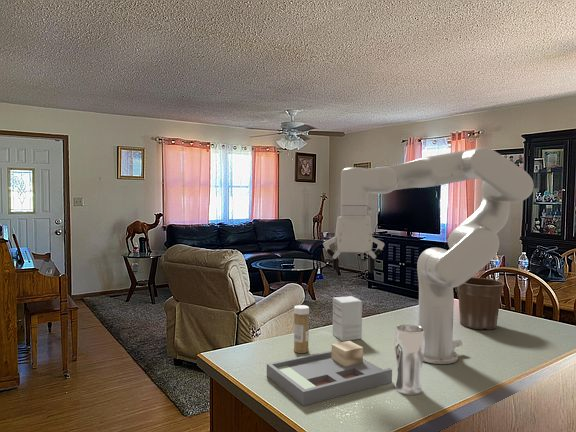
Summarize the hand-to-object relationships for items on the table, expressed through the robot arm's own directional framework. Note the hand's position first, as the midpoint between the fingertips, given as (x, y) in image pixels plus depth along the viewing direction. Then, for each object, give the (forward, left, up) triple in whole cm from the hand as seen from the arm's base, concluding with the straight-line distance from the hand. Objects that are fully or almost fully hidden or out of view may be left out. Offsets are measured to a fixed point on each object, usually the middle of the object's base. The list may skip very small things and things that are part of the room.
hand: (353, 272), depth 122 cm
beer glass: (0, +22, -25) cm, 34 cm away
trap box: (+14, +8, -25) cm, 30 cm away
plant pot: (-60, -4, -25) cm, 65 cm away
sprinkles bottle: (+10, -12, -25) cm, 29 cm away
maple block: (+5, +5, -23) cm, 24 cm away
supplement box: (-10, -16, -25) cm, 31 cm away
